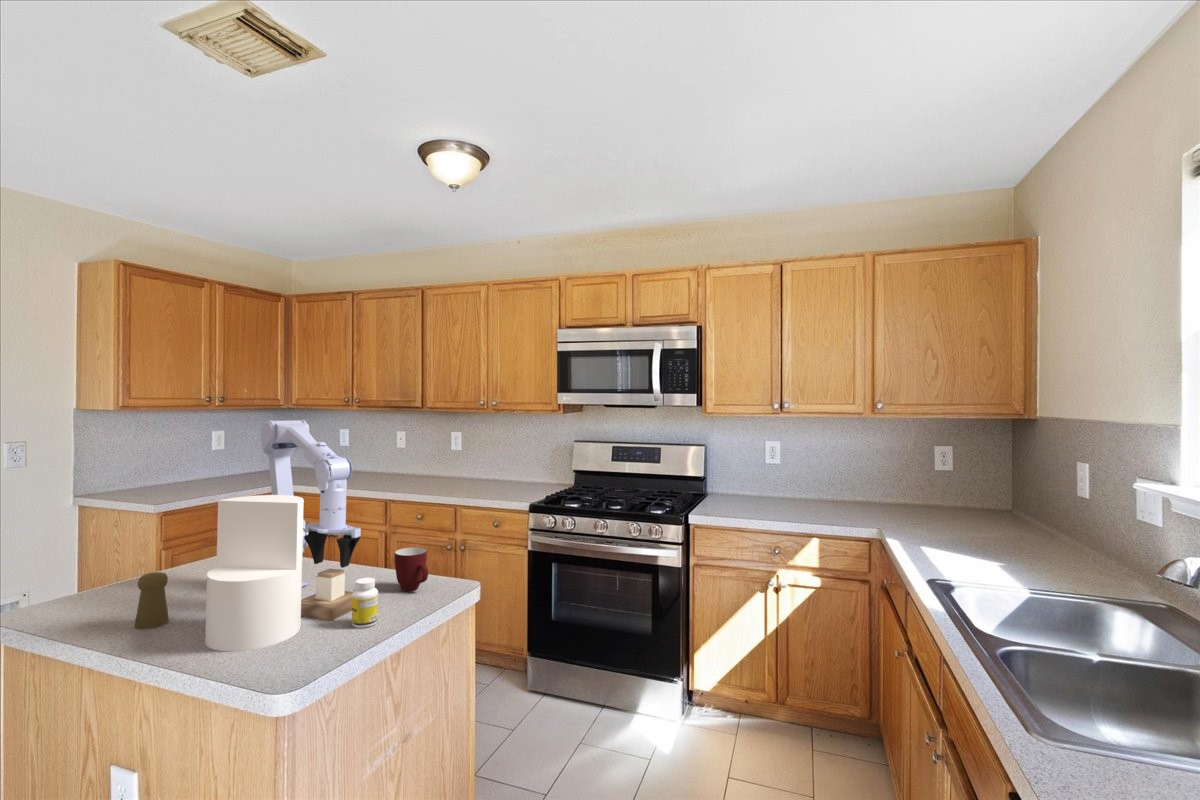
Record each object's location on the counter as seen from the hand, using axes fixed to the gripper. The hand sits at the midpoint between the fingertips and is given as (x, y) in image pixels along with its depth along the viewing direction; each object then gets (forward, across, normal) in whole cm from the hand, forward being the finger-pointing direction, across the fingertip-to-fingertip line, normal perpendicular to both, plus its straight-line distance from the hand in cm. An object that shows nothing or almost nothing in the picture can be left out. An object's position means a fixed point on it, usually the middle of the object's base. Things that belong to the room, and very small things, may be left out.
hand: (331, 564), depth 136 cm
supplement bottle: (+10, +14, -6) cm, 18 cm away
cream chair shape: (+10, -4, -17) cm, 21 cm away
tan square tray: (+10, +1, -2) cm, 10 cm away
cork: (+11, -29, -21) cm, 37 cm away
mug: (+10, +11, +18) cm, 23 cm away
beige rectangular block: (+7, +1, -1) cm, 7 cm away
